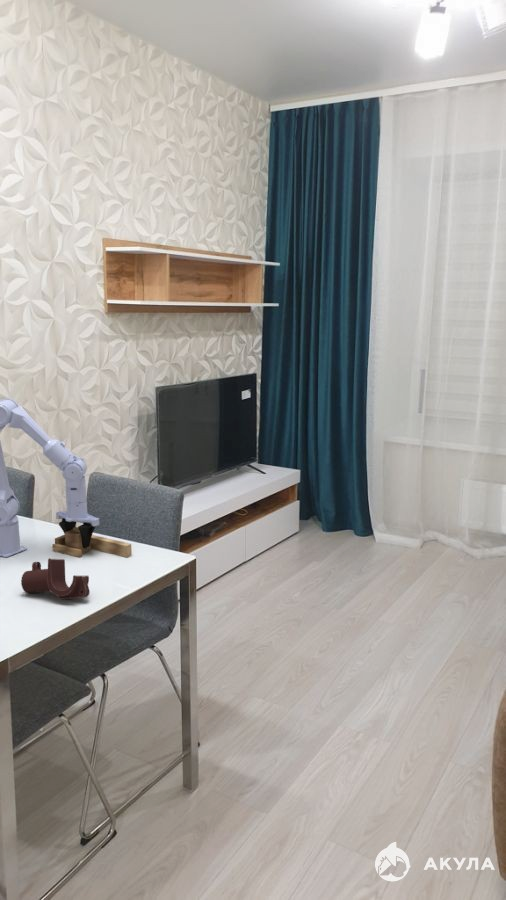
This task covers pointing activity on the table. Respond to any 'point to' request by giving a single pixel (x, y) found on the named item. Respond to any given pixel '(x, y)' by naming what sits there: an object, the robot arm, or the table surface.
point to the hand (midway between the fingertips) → (78, 545)
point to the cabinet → (75, 540)
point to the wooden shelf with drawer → (94, 546)
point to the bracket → (54, 580)
